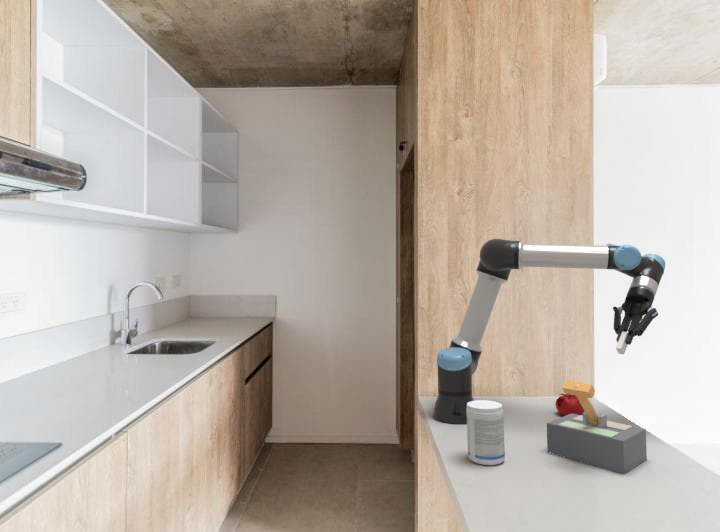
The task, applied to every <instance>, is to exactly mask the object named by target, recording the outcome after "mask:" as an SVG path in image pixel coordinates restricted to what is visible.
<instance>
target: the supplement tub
mask: <svg viewBox="0 0 720 532" xmlns="http://www.w3.org/2000/svg"><path fill="white" fill-rule="evenodd" d="M466 410H467V423H466V435H467V436H466V437H467V457H468V459H469V460H470V461H472V462H474V463H475V464H478V465H479V464H480V465H483V466H495V465H500V464H502V463H503V462H505V459H506V457H505V456H506V452H505V429H504V428H505V425H504V424H505V423H504V422H505V421H504V420H505V419H504V410H503V404H502V403H501V402H498V401H494V400H486V399H483V400H481V399H480V400H479V399H478V400H474V401H470V402H468V403H467V409H466Z"/></svg>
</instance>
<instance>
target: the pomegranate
mask: <svg viewBox="0 0 720 532" xmlns="http://www.w3.org/2000/svg"><path fill="white" fill-rule="evenodd" d="M555 408H556V410H557V413H558V414H559V415H560V416H561V417H564V416H566V415H569V414H571V413H572V414H577V415H582V416H583V413H585V411H584V409H583V407H582V405H581V404H580V402H579V400H578V398H577V396H576V395H570V394H565V392H564V391H563V393H560V394H559V396H558V398H557V399H556V400H555Z"/></svg>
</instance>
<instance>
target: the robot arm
mask: <svg viewBox="0 0 720 532" xmlns="http://www.w3.org/2000/svg"><path fill="white" fill-rule="evenodd" d="M524 267H525V268H527V267H529V268H554V269H555V268H556V269H557V268H559V269H560V268H561V269H589V270H591V269H595V270H614V271H617V272H619V273H621V274H624V275H626V276H629V277H630V278H632V281H631V283H630V286H629V289H628V291H627V294H626V296H625V299H624V301H623V303H622V304H621V306H619V307H617V306H613V307H612V309H613V311H614V315H613V330H614V332H615V334H616V335H617V337H616V340H615V341H616V342H617V343H616V347H615V349H616V352H617V353H618V355H625V352H626V351H627V347H628V345H629V346H630V345H631V344H632V343H633V340H634V338H635V337H636V336H637V337H642V335H643V334H644V333H645V331H646V330H647V328H648V327H649V325H650V324H651V322H652V321H653V320H654V319H655V318H657V317H658V316H659V312H658V310H657V309H656V307H652V306H653V303H654V300H655V297H656V295H657V291H658V288H659V286H660V283H661V280H662V277H663V275H665V270H666V269H665V268H666V260H665V258H663V257H662V256H661V255H659V254H657V253H654V254H652V253H647V254H644V255H642V254H641V251H640V250H639V249H638V248H637V247H636V246H633V245H630V244H623V245H617V244H612V243H611V242H609V243H607V244H606V245H605V244H604V245H599V244H598V245H594V244H593V245H591V244H545V243H544V244H541V243H537V244H536V243H535V244H533V243H524V242H522V241H521V240H508V239H502V238H492V239H489V240H487V241H486V242H485V243H483V245H482V246H481V248H480V252H479V261H478V265H477V268H476V270H475V271H476V273H477V275H478V276H477V281H476V284H475V286H474V288H473V289H474V290H473V292H472V296H471V298H470V300H469V303H468V307H466V312H465V315H464V316H463V319H462V322H461V325H460V329H459V331H458V335H457V336H455V337H454V338H452V339H451V342H450V344H449V347H446V348H443V349H440V351H438V353H437V359H436V363H437V391H438V392H437V398H436V401H435V404H434V408H433V418H434V419H435V420H436V421H439V422H442V423H446V424H453V425H455V424H457V425H459V424H467V410H466V409H467V403H468V402H470V401H475V400H474V397H473V374H475V372H476V371H477V369H478V368H479V367H478V365H479V361H480V358H481V355H482V353H483V349H482V346H481V342H482V339H483V336H484V334H485V331H486V328H487V325H488V323H489V320H490V317H491V315H492V311H493V308H494V306H495V303H496V301H497V298H498V295H499V293H500V290H501V286H502V284H504V283H506V282H508V280H509V277H510V274H511V271H512V270H521V269H522V268H524ZM623 312H624V316H623V319H622V316H621V315H622V313H623Z"/></svg>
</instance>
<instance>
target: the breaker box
mask: <svg viewBox="0 0 720 532" xmlns="http://www.w3.org/2000/svg"><path fill="white" fill-rule="evenodd" d="M607 415H608V414H604V413H603V414H601V415H598V418H599V424H598V425H593V424H592V423H591V422H590V420H589V418H588V417H587V415H586V413H583V415H577V414H572V413H571V414H569V415H566V416H561V417H558V418H556V419H554V420H551V421H549V422H546V446H547V453H549V452H551V453H550V454H552V453H554V454H553V455H556V454H558V455H557V456H559V455H561V456H560V457H563V456H565V457H564V458H566V457H568V458H567V459H569V458H572V459H571V460H573V459H575V460H574V461H576V460H578V461H577V462H580V461H582V462H581V463H583V462H585V463H584V464H587V463H588V465H590V464H591V466H594V465H595V466H594V467H597V466H598V468H601V469H604V468H605V469H604V470H608V471H612V472H615V473H618V474H621V475H625V474H627V473H629V472H630V471H632V470H633V469H635V468H636V467H639V466H640V465H641V464H642V463H644V462H646V461H647V460H648V459H647V458H648V457H647V452H648V451H647V429H646V428H642V427H637V426H633V425H629V424H628V425H627V424H624V423H619V422H614V421H610V420H608V419H607V417H608V416H607Z"/></svg>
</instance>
